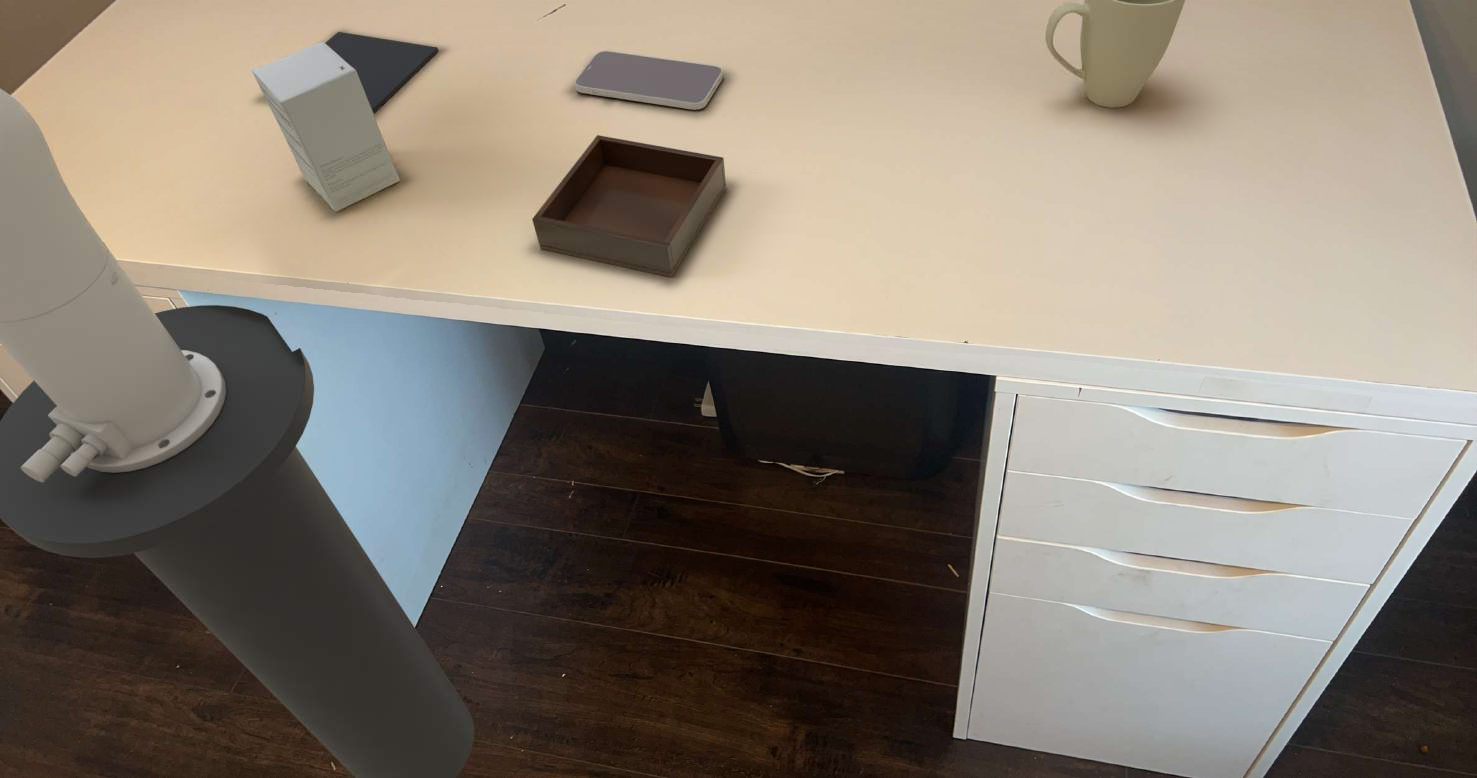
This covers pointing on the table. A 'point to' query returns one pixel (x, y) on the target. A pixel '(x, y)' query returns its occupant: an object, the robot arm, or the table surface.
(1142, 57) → the mug
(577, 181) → the tray
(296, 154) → the white packaging box
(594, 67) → the smartphone
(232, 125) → the table surface
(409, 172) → the table surface
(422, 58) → the mat
